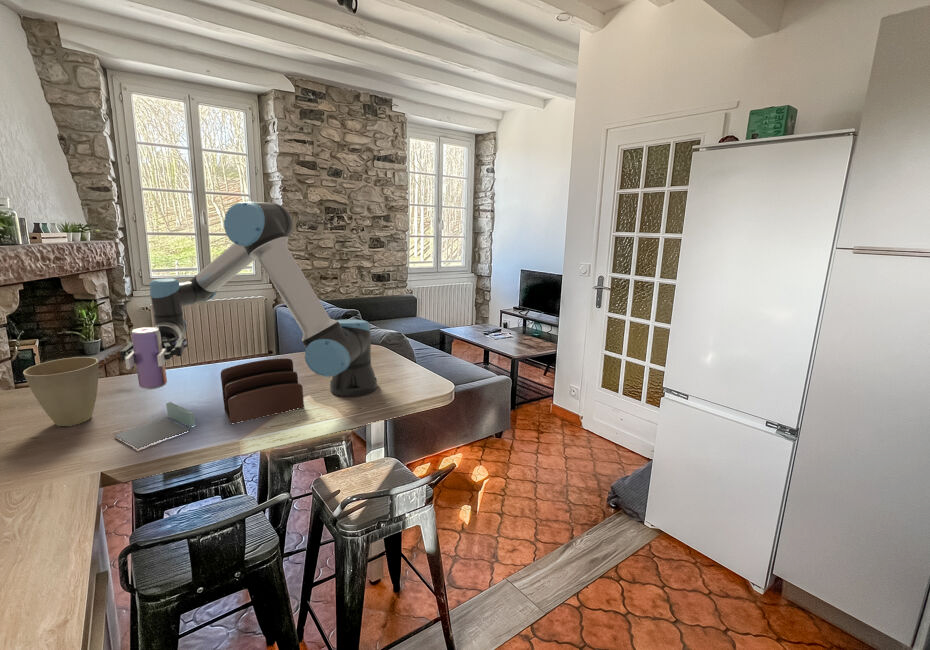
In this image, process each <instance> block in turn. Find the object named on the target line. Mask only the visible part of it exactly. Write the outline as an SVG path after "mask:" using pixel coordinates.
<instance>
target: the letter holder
mask: <svg viewBox="0 0 930 650" xmlns="http://www.w3.org/2000/svg"><path fill="white" fill-rule="evenodd" d="M220 380H221V381H220V382H221V389H222V398H223V399H222V400H223V407H224V413H225V415H226V418H227V419H228V422H229V424H230V423H231V424H230V425H233V424H232V423H235V424H238V423H237V422H240V423H242V422H241V421H244V422H248V421H247V420H249V421H252V420H251V419H253V420H257V419H256V418H258V419H260V418H259V417H262V418H264V417H263V416H266V417H268V416H267V415H271V416H273V415H272V414H275V413H280V414H282V413H281V412H284V413H287V412H286V411H288V412H290V411H289V410H293V409H297V408H302V409H304V408H305V403H304V402H305V401H304V389H303V388H304V387H303V385H302V384H301V383H299V378H298V373H297V372H296V371H294V362H293V359H291V358H285V357H284V358H272V359H271V358H270V359H262V360H257V361H256V360H255V361H251V362H246V363H242V364H237V365H233V366H230V367H226V368H224V369H222V370H221V371H220ZM303 407H304V408H303ZM297 410H298V409H297ZM293 411H294V410H293ZM275 415H276V414H275Z"/></svg>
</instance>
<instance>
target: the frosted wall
mask: <svg viewBox="0 0 930 650" xmlns="http://www.w3.org/2000/svg"><path fill="white" fill-rule="evenodd" d="M165 405H166V413H167V417H168V418H169V419H171V420H173V421H176V422H179V423H180V422H181V423H180V424H182V423H183V424H182V425H184V424H186V425H188V426H190V427H192V426H194V425H196V420H195V412H194V411H192V410H189V409H187V408H184V407H183V406H180V405H178V404H176V403H174V402H171V401H169V402H166V403H165ZM186 425H185V426H186ZM188 426H187V427H188ZM190 427H189V428H190ZM192 428H193V427H192Z"/></svg>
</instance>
